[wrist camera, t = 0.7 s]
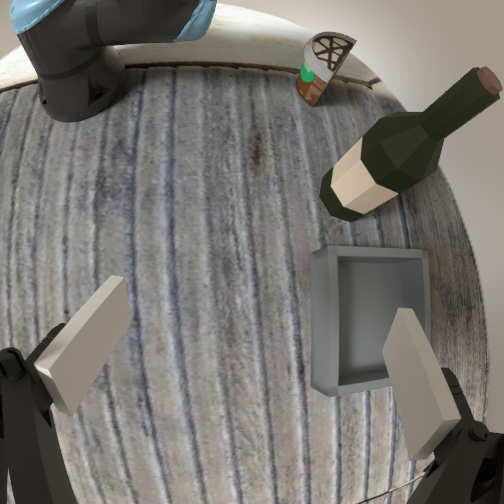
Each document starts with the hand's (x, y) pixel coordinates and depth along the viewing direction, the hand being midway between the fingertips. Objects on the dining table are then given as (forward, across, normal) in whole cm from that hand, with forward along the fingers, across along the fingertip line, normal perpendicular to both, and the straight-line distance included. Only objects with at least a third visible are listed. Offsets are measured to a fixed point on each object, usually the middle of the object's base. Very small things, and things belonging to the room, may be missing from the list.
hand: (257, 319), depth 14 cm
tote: (+24, +14, -17) cm, 33 cm away
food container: (+45, +4, +15) cm, 48 cm away
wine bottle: (+34, +10, -2) cm, 36 cm away
